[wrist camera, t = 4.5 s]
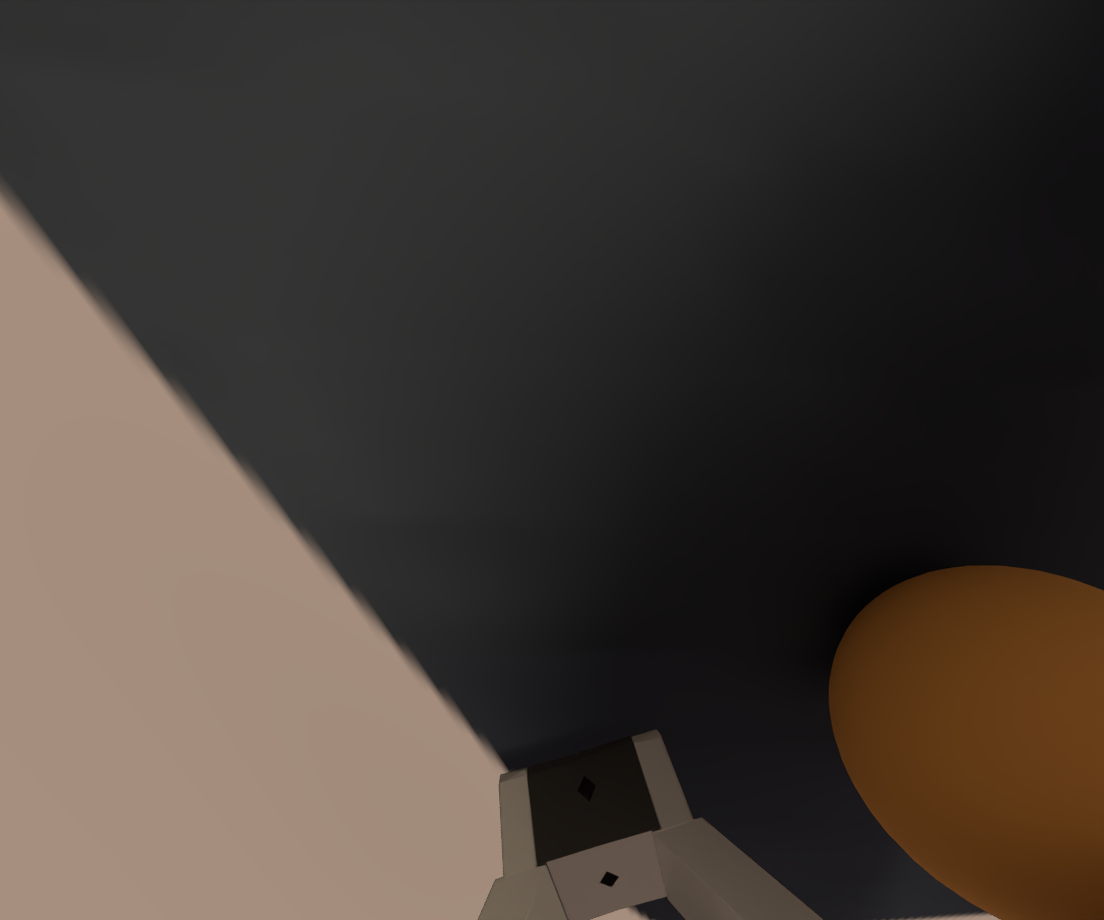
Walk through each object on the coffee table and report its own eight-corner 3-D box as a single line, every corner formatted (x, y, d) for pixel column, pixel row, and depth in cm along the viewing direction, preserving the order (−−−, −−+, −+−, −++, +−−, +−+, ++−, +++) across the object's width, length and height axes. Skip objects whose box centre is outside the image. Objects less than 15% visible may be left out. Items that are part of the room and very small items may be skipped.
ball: (764, 554, 10) (1057, 863, 5) (1024, 479, 10) (1553, 701, 5) (779, 742, 12) (992, 1085, 7) (993, 676, 13) (1345, 965, 7)
